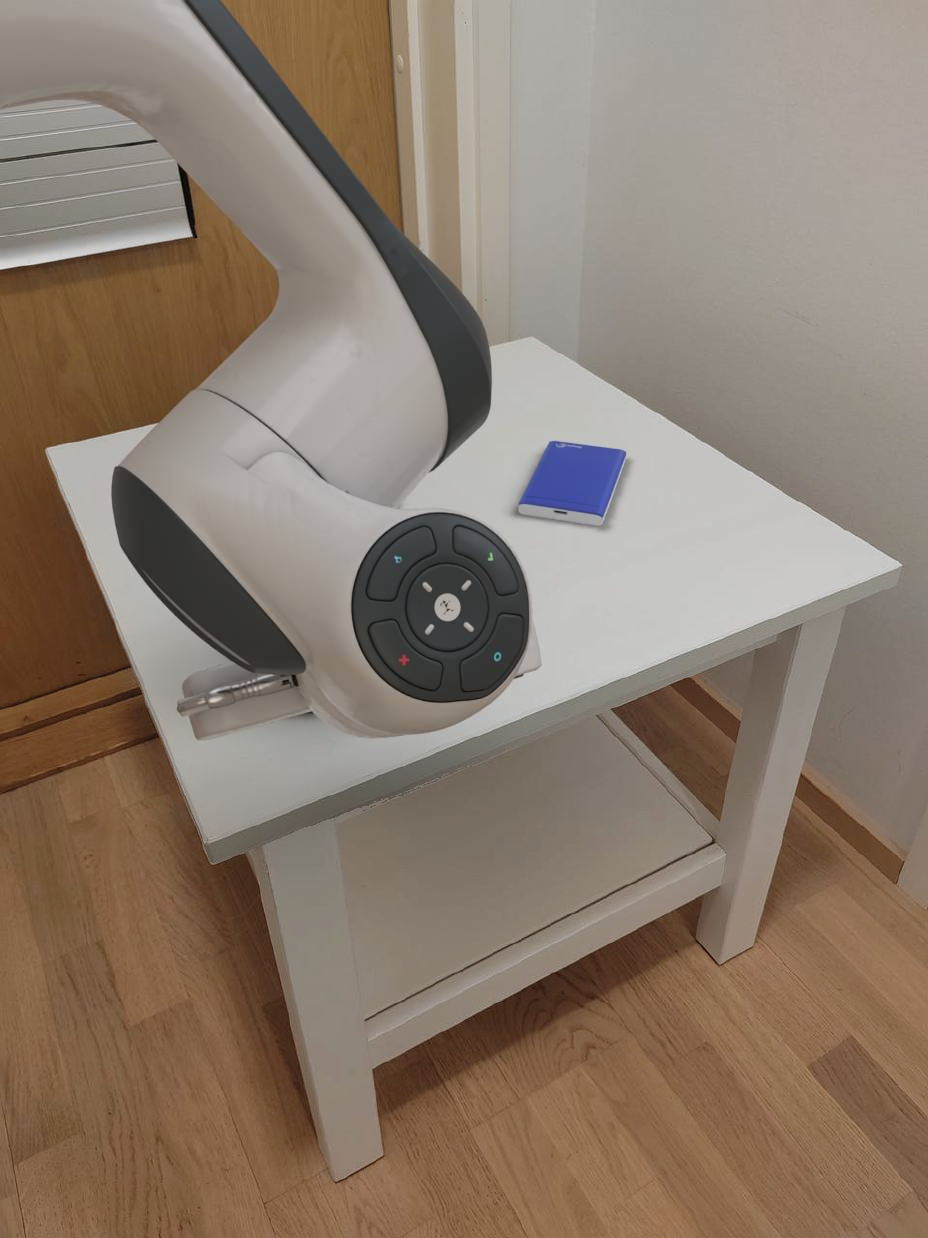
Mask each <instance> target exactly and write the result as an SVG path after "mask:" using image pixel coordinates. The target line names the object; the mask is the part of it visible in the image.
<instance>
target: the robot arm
mask: <svg viewBox="0 0 928 1238" xmlns="http://www.w3.org/2000/svg"><path fill="white" fill-rule="evenodd" d="M51 101H53V102H54V101H78V102H80V101H81V102H87V103H91V104H95V105H99V106H102V107H105V108H107V109H110V110H113V111H115V112H117V113H119V114H120V115H122V116H124V117H127V119H129V120H131V121H133V122H134V123H136V124H137V125H138V126H140V127H141V128H142V129H144V131H146V132H147V133H148V134H149V135H150V136H151V137H152V138H153V139H155V141H156V142H157V143H158V144H159V145H160V146H161V147H162V148H163V149H164V150H165V152H167V153H168V154H169V156H170V157H171V158H172V159H173V160H174V161H175V162H176V163H177V164H178V166H179V167H180V168H182V170H183V171H184V172H185V173H186V174H187V175H188V176H189V178H191V179H192V180H193V181H194V183H195V184H196V185H197V186H198V187H199V188H200V189H201V190H202V191H203V192H204V193H205V194H206V196H207V197H208V198H209V199H210V200H211V201H212V202H213V203H214V204H215V206H216V207H218V209H220V211H221V212H222V213H223V214H224V215H225V216H226V217H227V218H228V219H229V220H230V222H232V223H233V225H234V226H235V227H236V228H237V229H238V230H239V231H240V233H242V234H243V236H245V238H246V239H247V240H248V241H249V242H250V243H251V244H252V245H253V246H254V248H256V249H257V251H258V252H259V253H260V254H261V255H262V256H263V257H264V258H265V260H266V261H268V263H270V265H271V266H272V267H273V269H274V270H275V272H276V275H277V279H278V293H277V294H278V296H277V298H276V301H275V305H274V307H273V310H272V311H271V313H270V314H269V316H268V317H267V318H266V319H265V320H264V321H263V322H262V323H260V325H259V326H258V327H257V328H256V329H255V330H254V331H253V332H252V333H251V334H249V336H248V337H247V338H246V339H245V340H244V341H243V342H242V343H241V344H240V345H238V347H237V348H235V350H234V351H233V352H232V353H231V354H230V355H229V356H227V358H226V359H225V360H223V362H222V363H220V364H219V366H217V368H216V369H215V370H214V371H212V373H210V375H208V376H207V377H206V378H205V379H204V380H203V381H202V382H201V383H200V384H199V385H198V386H197V387H196V388H194V389H192V390H190V391H188V393H187V394H186V395H185V396H184V397H183V398H182V399H181V400H180V401H179V402H178V403H177V404H176V405H175V406H174V407H173V408H172V409H171V410H170V411H169V412H168V413H167V414H166V415H165V416H164V417H163V418H162V419H161V420H159V422H158V423H157V424H155V426H154V427H153V428H152V429H150V431H149V432H148V433H147V434H146V435H145V436H144V437H143V438H142V439H141V440H140V441H139V442H138V443H137V445H135V446H134V448H133V449H132V450H130V452H129V453H127V455H126V456H125V457H124V458H123V459H122V460H121V461H120V463H119V464H118V465H116V466H114V467H113V471H112V476H111V486H110V487H111V489H110V490H111V491H110V494H111V496H110V497H111V508H112V514H113V520H114V526H115V531H116V535H117V539H118V544H119V546H120V548H121V550H122V552H123V553H124V555H125V557H126V558H127V559H128V561H129V562H130V564H131V566H132V567H133V568H134V569H135V571H136V572H137V574H138V575H139V576H140V578H141V579H142V580H143V582H144V583H145V584H146V585H147V587H148V588H149V589H150V591H152V593H153V594H154V595H155V597H157V599H158V600H159V601H160V602H161V603H162V604H163V605H164V606H165V607H166V608H167V609H168V610H169V612H171V613H172V614H173V615H174V616H175V617H176V618H177V619H178V620H179V621H180V622H181V623H182V624H183V625H185V627H187V628H188V629H189V630H190V631H191V632H192V633H194V634H195V635H196V636H197V637H198V638H199V639H201V640H202V641H203V642H204V643H205V644H207V645H208V646H210V647H211V648H212V649H214V650H215V651H216V652H218V653H220V654H221V655H222V656H223V657H225V658H226V659H228V660H225V661H222V662H219V663H216V664H213V665H210V666H207V667H205V668H202V669H199V670H197V671H195V672H193V673H190V675H188V676H187V677H186V678H185V679H184V680H183V682H182V683H181V691H182V695H183V696H182V697H183V698H182V699H179V700H177V702H176V704H177V706H176V711H177V712H178V714H179V716H181V717H182V718H187V717H188V719H189V723H190V726H191V729H192V732H193V736H194V738H195V740H197V741H199V742H205V741H210V740H211V741H212V740H215V739H218V738H222V737H225V736H226V737H227V736H229V735H233V734H235V733H240V732H244V731H246V730H251V729H254V728H258V727H261V726H263V725H264V726H265V725H268V724H273V723H275V722H278V721H282V720H286V719H289V718H293V717H296V716H299V715H303V714H308V713H307V712H310V711H312V712H313V713H312V714H313V715H314V716H315V717H316V718H318V719H319V720H320V721H321V722H323V723H324V724H326V725H327V726H328V727H330V728H332V729H334V730H336V731H338V732H340V733H342V734H345V735H347V736H352V737H355V738H361V739H372V740H373V739H386V738H387V739H388V738H396V737H402V736H414V735H424V734H429V733H435V732H438V731H442V730H445V729H448V728H451V727H454V726H456V725H458V724H460V723H462V722H464V721H466V720H467V719H470V718H471V717H473V716H475V715H476V714H478V713H479V712H482V710H484V709H485V708H487V707H488V706H489V705H491V704H492V703H494V701H496V700H497V699H498V698H499V697H500V696H501V695H502V694H503V693H504V692H505V691H506V690H507V688H508V687H509V686H510V685H511V684H512V682H513V680H516V679H518V678H522V677H524V675H525V674H528V673H531V672H535V671H538V670H539V669H540V668H541V667H542V665H543V662H542V655H541V650H540V644H539V640H538V635H537V631H536V626H535V621H534V609H533V606H534V605H533V598H532V591H531V588H530V582H529V579H528V577H527V572H526V571H525V568H524V566H523V563H522V561H521V560H520V557H519V556H518V554H517V552H516V551H515V549H514V548H513V546H512V545H511V544H510V543H509V541H508V540H507V539H506V538H505V537H504V536H503V534H501V533H500V532H499V531H498V530H497V529H495V528H494V527H493V526H492V525H490V524H488V523H487V522H486V521H484V520H482V519H480V518H478V517H476V516H474V515H472V514H469V513H467V512H463V511H460V510H455V509H451V508H444V507H443V508H442V507H423V508H420V507H419V508H398V507H400V505H401V504H402V503H403V502H404V501H405V500H406V499H407V498H408V496H409V495H410V494H411V493H412V492H413V491H414V489H416V487H418V486H419V484H420V483H421V482H422V480H424V479H425V477H426V476H427V475H428V474H429V473H431V472H434V471H435V470H436V469H437V468H438V467H440V465H441V464H442V463H444V462H445V461H446V460H447V459H448V458H449V457H450V456H451V455H452V454H453V453H454V452H456V450H457V449H459V448H460V447H461V446H462V445H463V444H464V443H465V442H466V441H467V440H469V438H470V437H471V436H472V435H474V434H475V433H476V432H477V431H478V430H479V429H480V428H481V427H482V426H483V425H484V424H485V422H486V421H487V419H488V418H489V415H490V412H491V411H490V410H491V405H492V392H493V390H492V389H493V367H492V357H491V356H492V355H491V349H490V343H489V339H488V335H487V331H486V328H485V326H484V323H483V321H482V319H481V317H480V315H479V314H478V312H477V310H476V309H475V308H474V306H473V305H472V304H471V302H470V301H469V300H468V298H467V297H466V296H465V295H464V294H463V293H462V291H461V290H460V289H459V288H458V286H457V285H456V284H455V283H454V282H453V281H452V280H451V279H450V278H449V277H448V276H447V275H446V274H445V273H444V272H443V271H442V270H441V269H440V268H439V267H438V266H437V265H436V264H435V263H434V261H432V260H431V259H430V258H429V257H428V256H426V254H424V252H423V251H421V249H420V248H418V246H416V244H415V243H414V242H412V241H411V240H410V239H409V238H408V236H407V235H406V234H404V232H402V230H401V229H400V228H399V227H398V226H397V225H396V224H395V222H393V221H392V219H391V218H390V217H389V215H388V214H387V213H386V212H385V210H384V209H383V207H381V205H380V204H379V202H378V201H377V200H376V199H375V197H374V196H373V195H372V194H371V192H370V190H369V189H368V188H367V187H366V186H365V185H364V184H363V182H362V181H361V180H360V179H359V177H358V176H357V175H356V173H355V172H354V171H353V169H352V168H351V167H350V166H349V164H348V162H347V161H345V159H344V158H343V157H342V155H341V154H340V153H339V152H338V150H337V149H336V147H335V146H334V145H333V143H331V141H330V139H329V138H328V137H327V136H326V135H325V133H324V132H323V131H322V129H321V128H320V126H318V124H317V123H316V121H315V120H314V119H313V118H312V116H311V115H310V114H309V112H308V111H307V109H306V108H305V107H304V106H303V105H302V103H301V102H300V101H299V100H298V98H297V97H296V95H295V94H294V93H293V92H292V90H291V88H290V87H288V85H287V84H286V82H285V81H284V79H283V78H282V77H281V76H280V74H279V73H278V72H277V71H276V69H275V68H274V67H273V65H272V64H271V63H270V62H269V61H268V59H267V57H266V56H265V55H264V53H263V52H262V51H261V49H260V48H259V47H258V46H257V44H256V43H255V42H254V41H253V39H252V38H251V37H250V35H249V34H248V33H247V31H246V30H245V29H244V28H243V26H242V25H241V24H240V23H239V21H238V20H237V19H236V18H235V16H234V15H233V14H232V12H231V11H230V10H229V9H228V8H227V6H226V5H225V4H224V3H223V2H222V0H0V111H2V110H6V109H10V108H15V107H21V106H26V105H27V106H28V105H33V104H38V103H44V102H51Z"/></svg>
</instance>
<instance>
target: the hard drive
mask: <svg viewBox="0 0 928 1238" xmlns="http://www.w3.org/2000/svg"><path fill="white" fill-rule="evenodd" d="M626 461H627V451H626V450H624V449H620V448H612V447H605V446H599V445H591V444H582V443H577V442H575V443H574V442H567V441H559V440H550V441H548V444H547V446H546V448H545V450H544V452H543V454H542V455H541V458H540V460H539V461H538V463H537V466H536V468H535V469H534V471H533V473H532V476H531V478H530V479H529V482H528V484H527V486H526V488H525V490H524V492H523V494H522V495H521V498H520V500H519V502H518V514H520V515H523V516H530V517H536V518H544V519H549V520H555V521H563V522H569V523H576V524H582V525H589V526H595V527H601V526H603V525H604V522H605V519H606V516H607V514H608V511H609V508H610V505H611V503H612V501H613V497H614V494H615V492H616V489H617V486H618V483H619V480H620V477H621V475H622V472H623V469H624V467H625V464H626Z"/></svg>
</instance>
